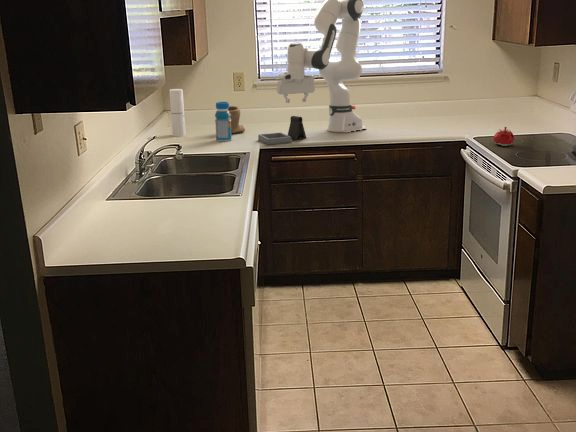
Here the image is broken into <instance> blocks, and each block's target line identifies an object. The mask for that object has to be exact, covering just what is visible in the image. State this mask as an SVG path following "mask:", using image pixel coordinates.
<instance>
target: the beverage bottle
mask: <svg viewBox="0 0 576 432" xmlns="http://www.w3.org/2000/svg"><path fill="white" fill-rule="evenodd" d="M229 106H230V103H229V102H228V101H217V102H216V103H215V108H216V111H215V114H214V117H215V118H214V119H215V120H214V122H215V137H216V138H215V139H216V141H217V142H224V143H225V142H229V141H230V142H231V141H232V139H233V137H232V133H231V118H230V116H231V114H230V112H229V111H228V109H229Z"/></svg>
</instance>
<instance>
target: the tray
mask: <svg viewBox="0 0 576 432" xmlns="http://www.w3.org/2000/svg"><path fill="white" fill-rule="evenodd" d="M257 135H258V137H257V139H258V141H259V142H261V143H264V144H266V145H268V146H271V145H272V146H273V145H281V144H291V143H292V140H291V137H290V136H288V134H286V133H283V132H281V131H280V132H272V133H262V134H257Z"/></svg>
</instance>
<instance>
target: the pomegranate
mask: <svg viewBox="0 0 576 432" xmlns="http://www.w3.org/2000/svg"><path fill="white" fill-rule="evenodd" d="M496 131H498V132H496V133H495V134H494V135H493V138H492V139H493V143H494V142H496V143H501V144H511V143H513V144H514V141H515V136H514V133H513V132H512V131H511V130H509V129H508V126H504V129H502V130H501V129H498V130H496Z"/></svg>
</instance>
